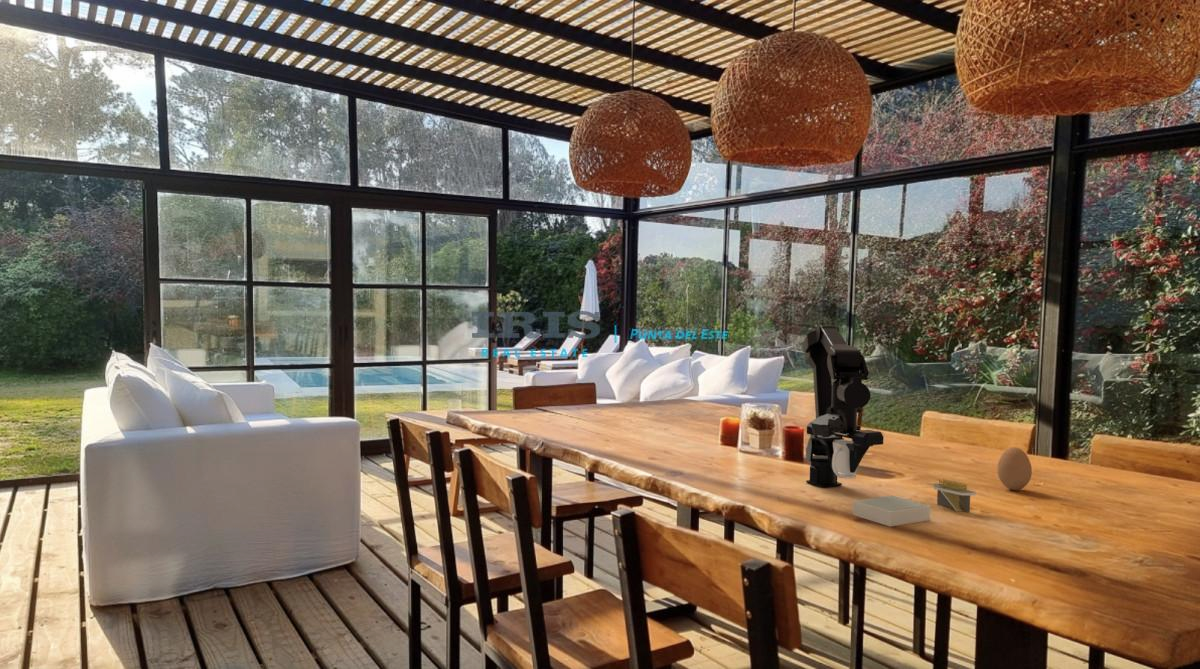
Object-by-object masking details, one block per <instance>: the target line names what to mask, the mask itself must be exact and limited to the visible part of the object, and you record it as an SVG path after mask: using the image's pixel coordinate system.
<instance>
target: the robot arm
mask: <svg viewBox="0 0 1200 669" xmlns="http://www.w3.org/2000/svg"><path fill="white" fill-rule="evenodd" d="M802 345H803V346H802V348H803V349H802V350H803V353H805V360H806V362H807V363H808V364H809V366H810V367H811V369H812V373H813V375H812V376H813V388H814V389H813V393H814V408H815V410H814V411H815V419H813V420H811V421H810V422H808V424H807V426H806V435H810V437H809V439H808V442H807V445H806V448H805V457H806V460H808V461H809V462H810V466H809V479H808V480H807V479H806V481H805V482H806V483H807V484H811V485H814V486H817V487H821V488H828V487H829V488H830V487H837V486H842V483H841V482H839V481H838V476H837V475H836V474H835V473H834V471H833V469H832V458H833V453H834V450H833V441H834V440H845V438H847V439H850V440H852V443H846V446H847V447H848V449H849V452H850V472H851V473H854V472H855V471H856V469H857V470H858V468H859V465H860V463H861V462H862V459H863V458H864V456H865V454H866V453H867V451H869V448H870V447H873V446H881V445H884V434H883V433H882V432H881V431H878V430H873V429H864V430H863V429H862V427H861V426H862V425H858V414H859V413H862V408H863V407H864V408H865V406H866V405H868V403H869V402H870V400H871V392H870V389H869V388H868V386H867V385H866V384H865V383H863V382H862V381H863V380H865V381H867V380H868V379H869V373H870V372H869V369H868V365H867V361H866V359H865V355H864V354H862V352H861V350H860V349H859V348H857V347H856V346H852V345H848V343H847V342H846V340H845V339H844V337H843V335H842V334H841V332H840V328H839V326H837V325H833V324H831V325H828V324H827V325H826V324H824V325H822V324H821V325H819V326H817V327H816V329H815V330H813V331H811V332H808V333H807V334H806V336H805V337H804V340H803V343H802ZM857 467H858V468H857Z"/></svg>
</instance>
